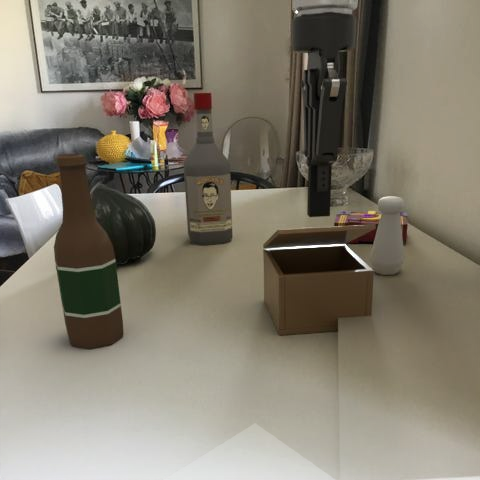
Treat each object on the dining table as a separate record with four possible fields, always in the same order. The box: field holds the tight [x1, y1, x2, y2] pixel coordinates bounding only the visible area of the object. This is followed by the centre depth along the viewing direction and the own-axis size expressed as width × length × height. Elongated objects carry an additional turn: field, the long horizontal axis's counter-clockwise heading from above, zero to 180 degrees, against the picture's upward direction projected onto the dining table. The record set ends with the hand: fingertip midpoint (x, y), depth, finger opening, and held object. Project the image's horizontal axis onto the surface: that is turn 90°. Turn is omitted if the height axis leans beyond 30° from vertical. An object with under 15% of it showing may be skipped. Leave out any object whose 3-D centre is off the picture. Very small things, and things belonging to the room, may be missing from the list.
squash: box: [90, 186, 157, 265], centre depth 110 cm, size 14×15×15 cm
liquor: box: [183, 92, 234, 246], centre depth 119 cm, size 9×9×30 cm
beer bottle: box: [53, 153, 125, 350], centre depth 72 cm, size 8×8×24 cm
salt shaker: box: [369, 195, 405, 276], centre depth 97 cm, size 6×6×13 cm
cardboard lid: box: [262, 224, 376, 249], centre depth 78 cm, size 14×13×1 cm
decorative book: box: [333, 210, 409, 244], centre depth 121 cm, size 11×16×5 cm
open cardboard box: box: [262, 244, 375, 336], centre depth 81 cm, size 14×13×8 cm
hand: (318, 215), depth 75 cm, fingers closed
